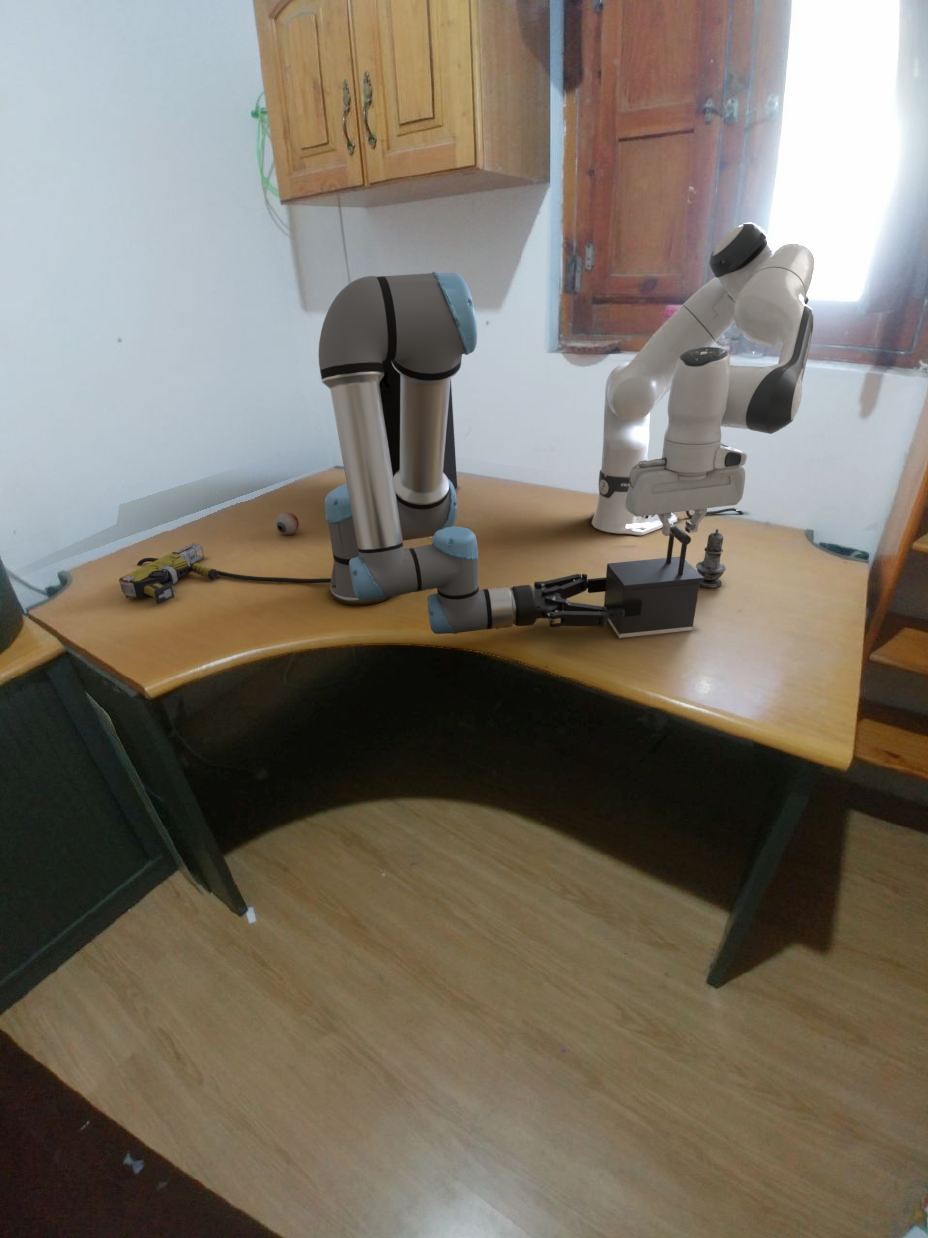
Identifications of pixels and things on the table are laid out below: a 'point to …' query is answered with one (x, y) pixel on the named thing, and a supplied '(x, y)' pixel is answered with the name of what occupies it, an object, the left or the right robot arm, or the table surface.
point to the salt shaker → (712, 561)
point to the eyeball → (287, 523)
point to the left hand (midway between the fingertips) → (630, 594)
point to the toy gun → (164, 574)
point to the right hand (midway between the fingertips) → (679, 533)
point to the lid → (657, 568)
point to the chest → (653, 608)
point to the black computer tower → (392, 423)
